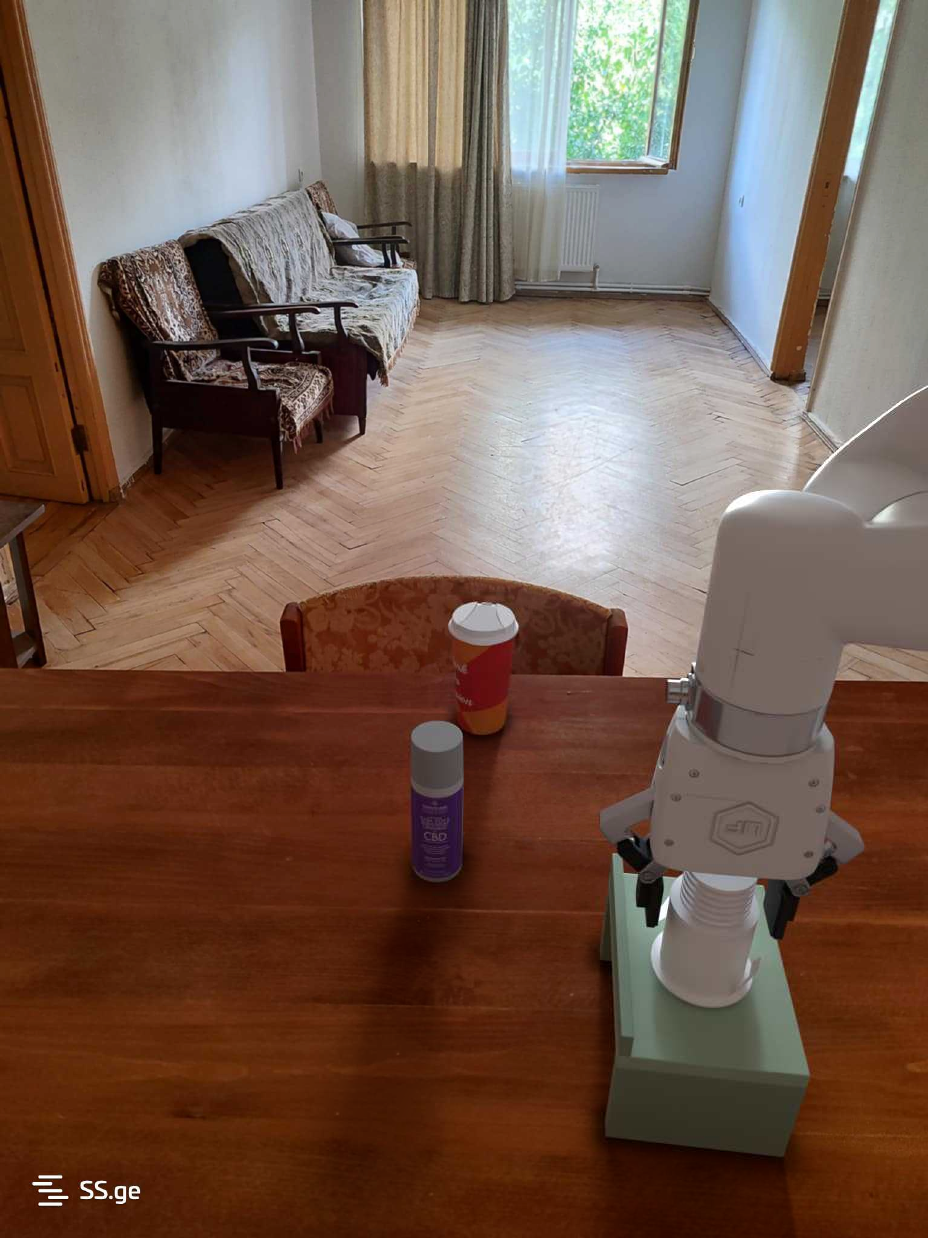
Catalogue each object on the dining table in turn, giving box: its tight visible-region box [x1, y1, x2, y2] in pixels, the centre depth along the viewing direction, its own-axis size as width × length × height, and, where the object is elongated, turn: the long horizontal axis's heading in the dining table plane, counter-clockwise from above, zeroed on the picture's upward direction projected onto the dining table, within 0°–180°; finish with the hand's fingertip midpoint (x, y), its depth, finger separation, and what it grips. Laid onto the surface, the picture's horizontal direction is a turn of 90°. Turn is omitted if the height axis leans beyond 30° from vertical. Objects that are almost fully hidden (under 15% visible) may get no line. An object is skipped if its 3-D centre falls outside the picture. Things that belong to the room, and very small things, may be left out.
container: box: [410, 720, 464, 883], centre depth 79 cm, size 5×5×15 cm
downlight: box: [651, 871, 761, 1008], centre depth 60 cm, size 8×7×10 cm
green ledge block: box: [599, 853, 811, 1158], centre depth 65 cm, size 12×16×11 cm
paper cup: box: [447, 601, 519, 736], centre depth 99 cm, size 8×8×14 cm
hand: (710, 916), depth 60 cm, fingers open, 7 cm apart
